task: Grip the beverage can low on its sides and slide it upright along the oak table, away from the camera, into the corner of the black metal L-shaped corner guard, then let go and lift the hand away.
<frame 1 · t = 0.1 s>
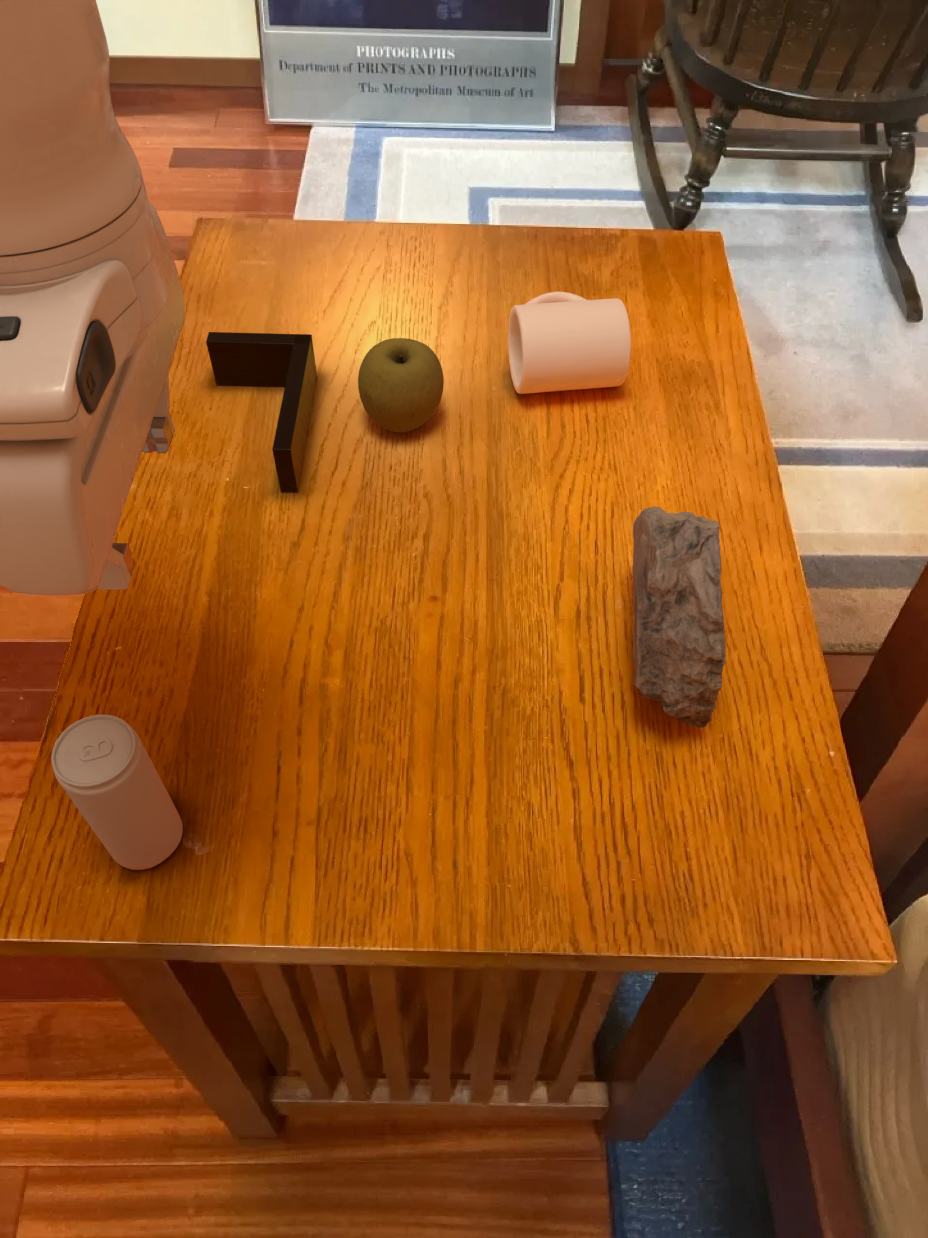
hand: (138, 507, 48), 23 cm above the table, tool pointing down, fingers open, 8 cm apart
beverage can: (148, 839, 61), on the table
apple: (402, 419, 87), on the table
corner guard: (300, 387, 89), on the table
decorative rock: (657, 653, 71), on the table
mug: (558, 369, 92), on the table
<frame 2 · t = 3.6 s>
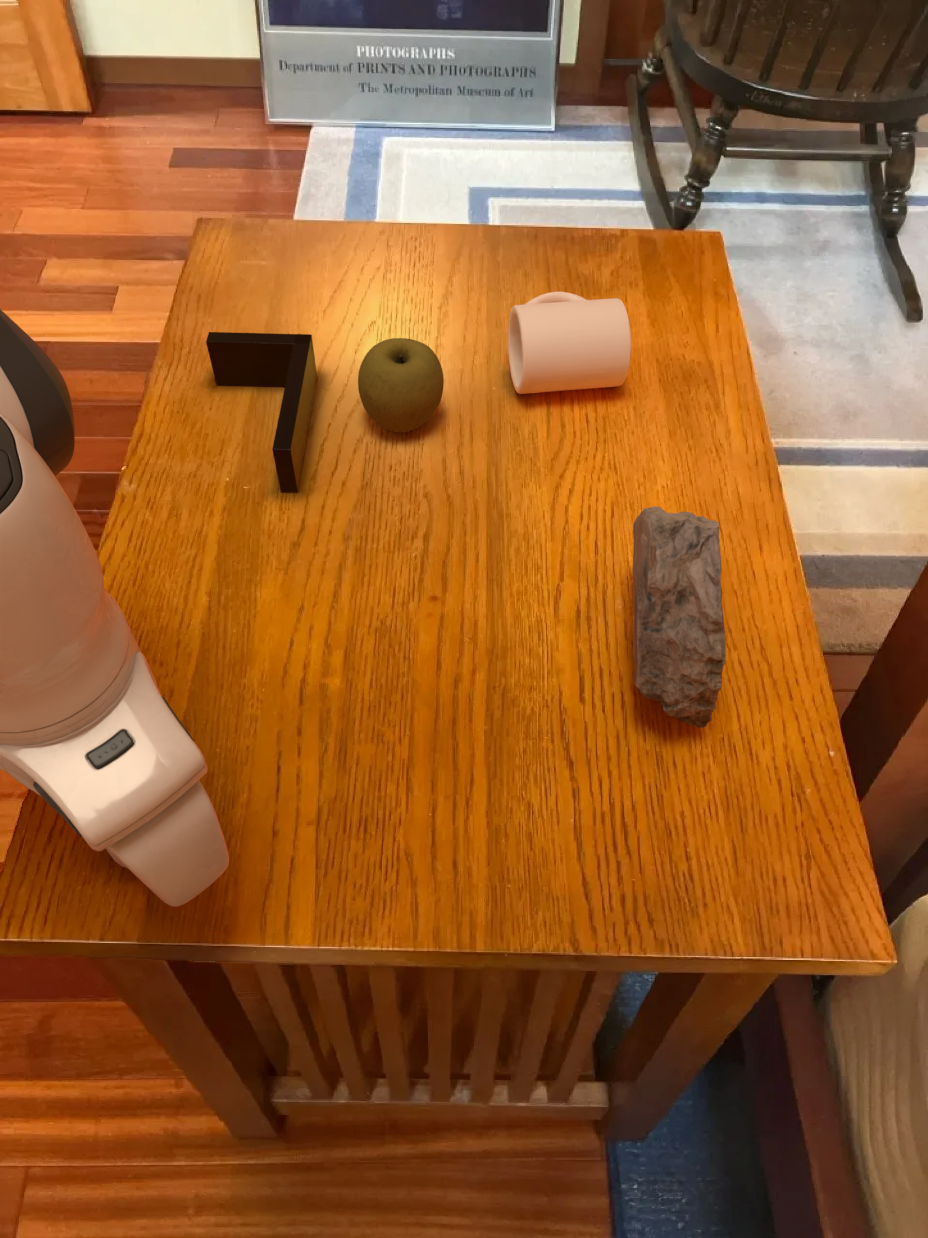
hand: (128, 807, 58), 5 cm above the table, tool pointing down, fingers closed on beverage can, 5 cm apart
beverage can: (148, 839, 61), on the table, touching gripper
everything else where it was.
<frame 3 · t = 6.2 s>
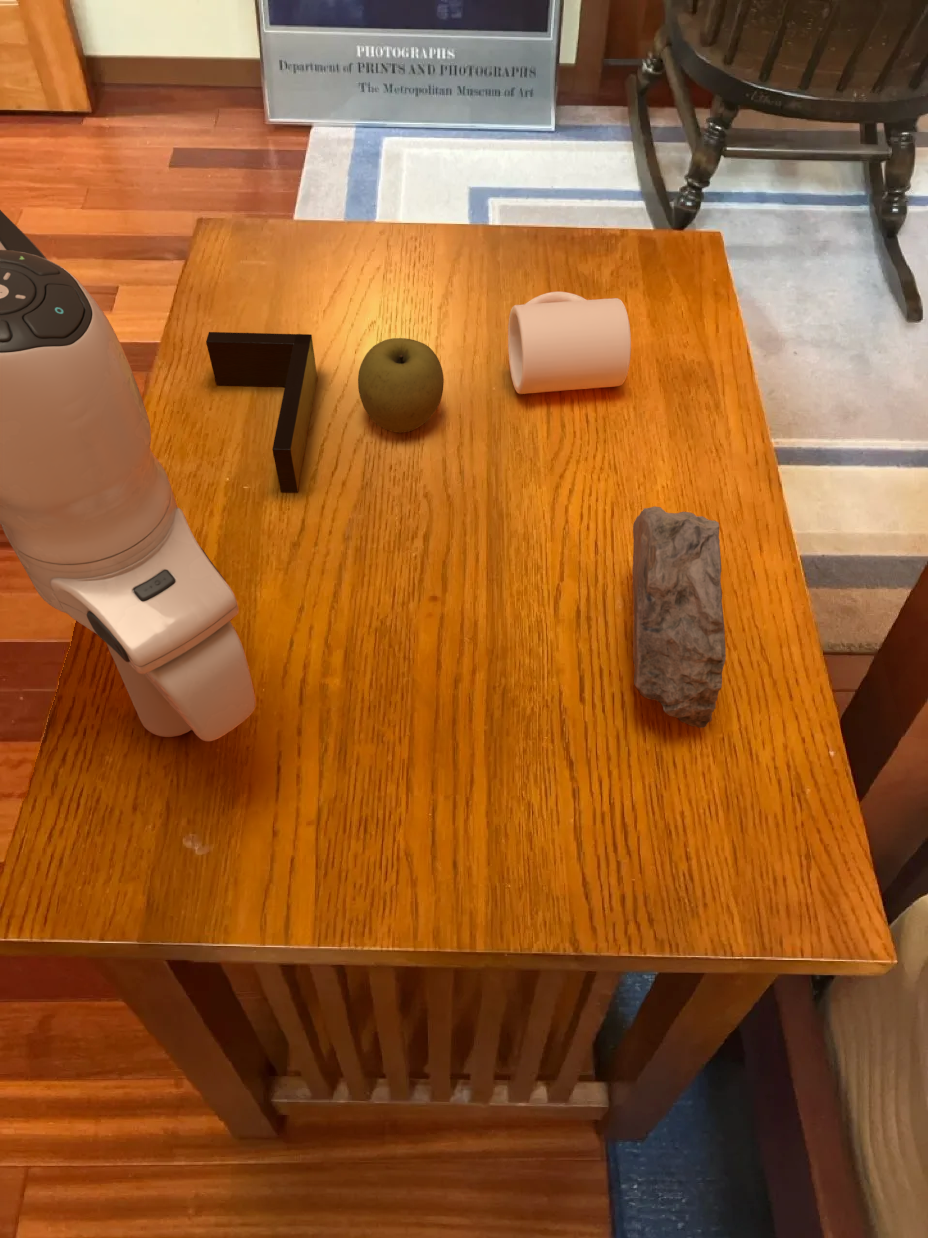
hand: (162, 675, 63), 5 cm above the table, tool pointing down, fingers closed on beverage can, 5 cm apart
beverage can: (176, 713, 67), on the table, touching gripper
everything else where it was.
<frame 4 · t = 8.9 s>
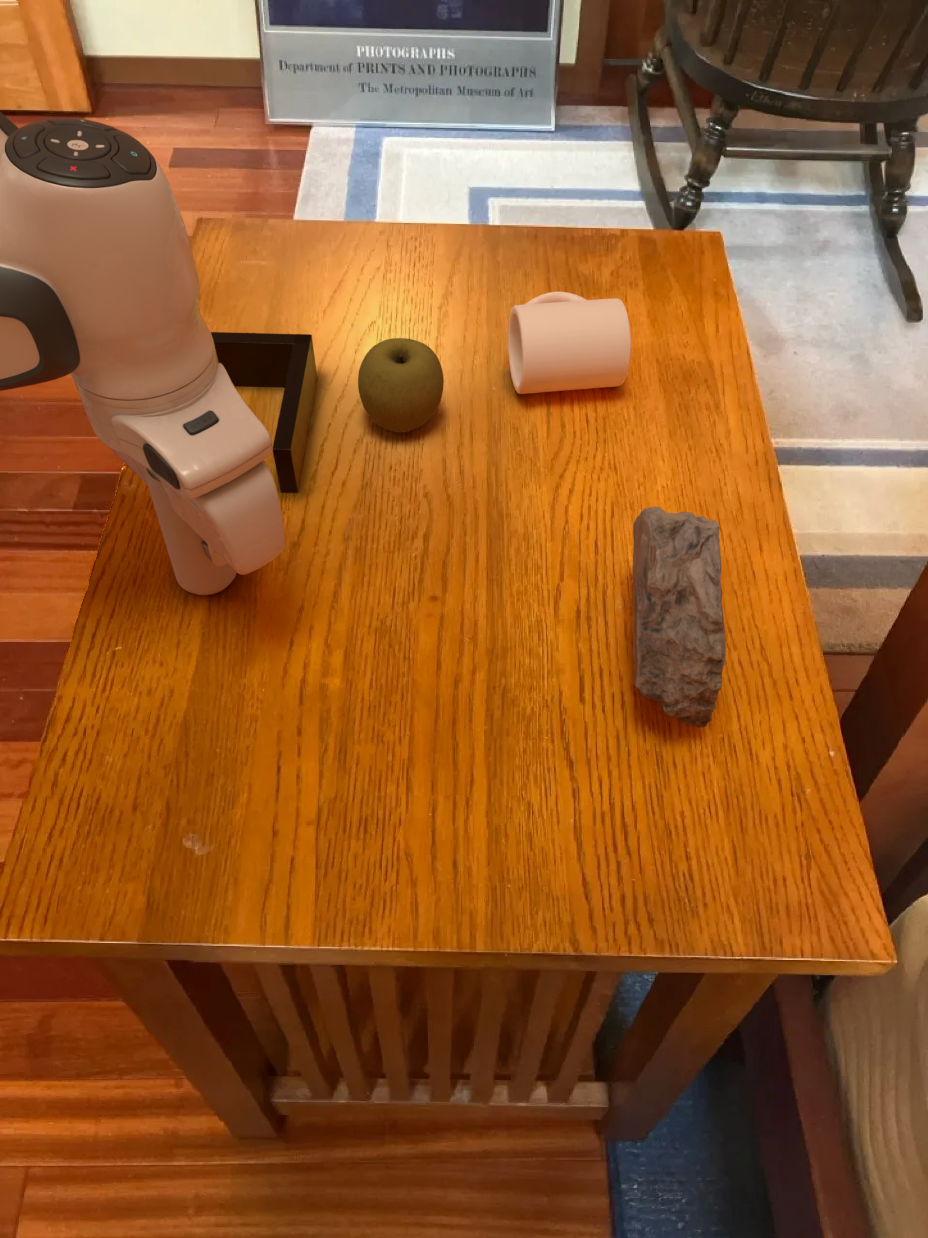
hand: (199, 535, 71), 5 cm above the table, tool pointing down, fingers closed on beverage can, 5 cm apart
beverage can: (208, 577, 75), on the table, touching gripper
everything else where it was.
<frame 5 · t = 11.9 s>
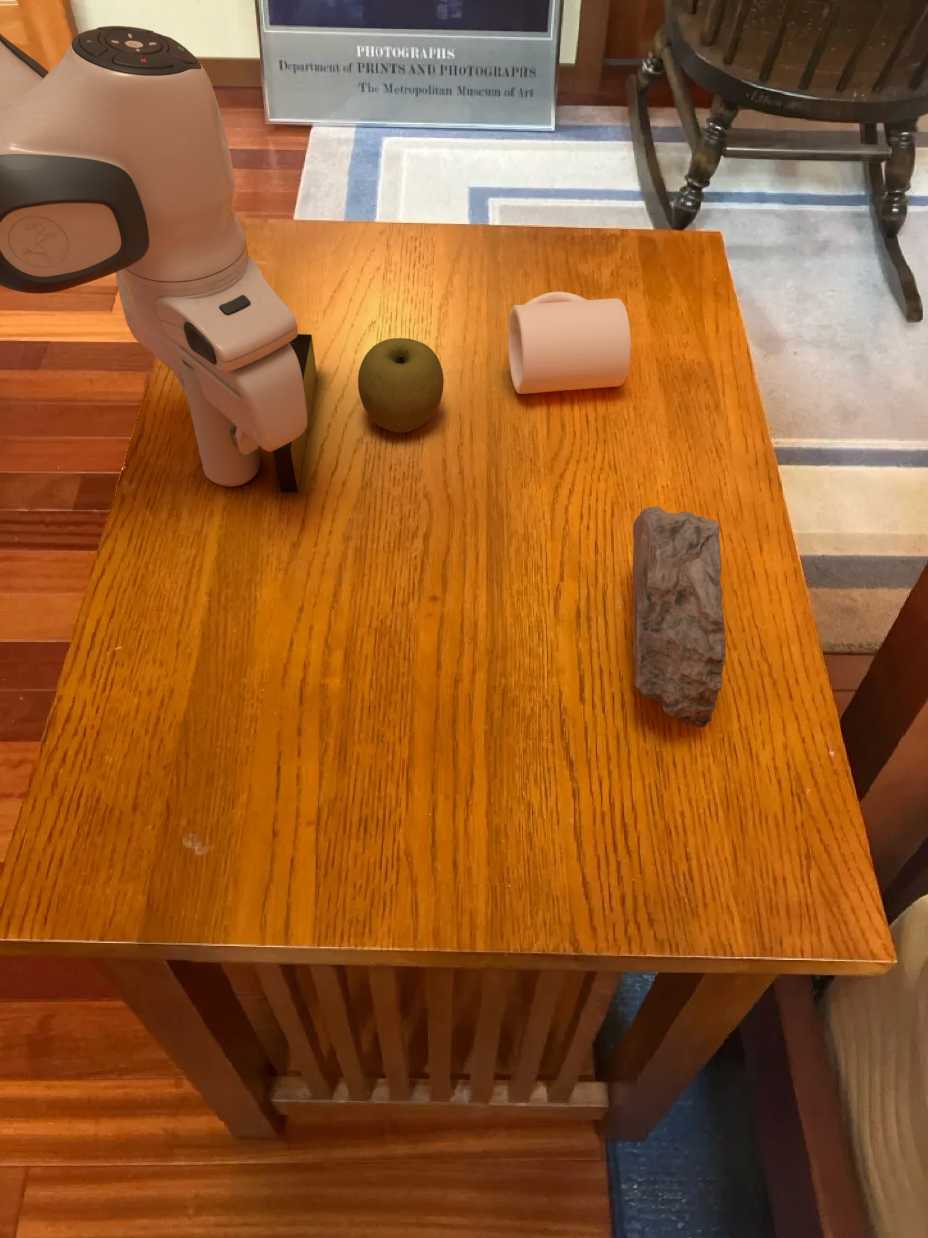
hand: (226, 429, 78), 5 cm above the table, tool pointing down, fingers closed on beverage can, 5 cm apart
beverage can: (232, 473, 82), on the table, touching gripper
everything else where it was.
when the fingers open (5 cm above the table, at t = 14.3 s): beverage can stays where it is, on the table.
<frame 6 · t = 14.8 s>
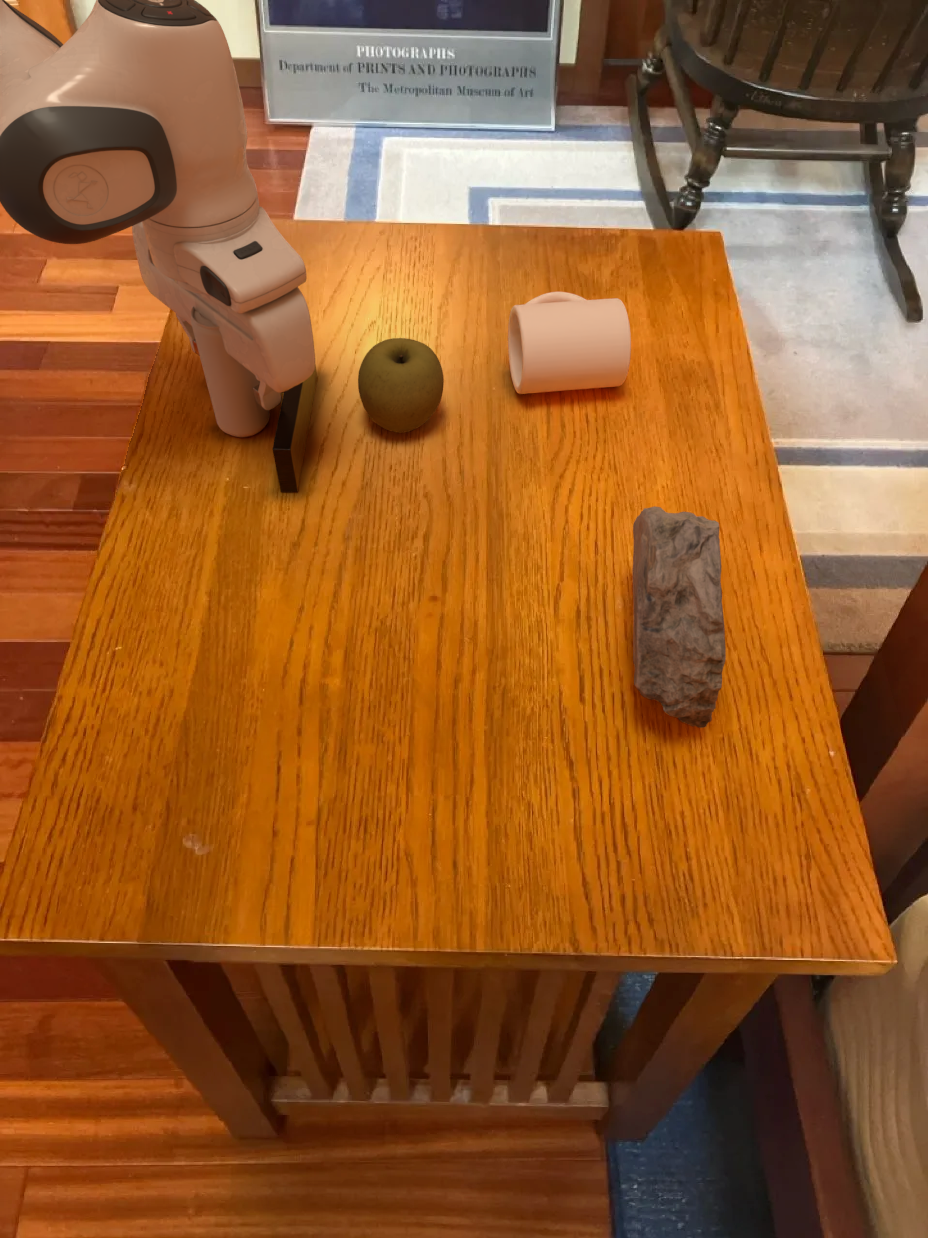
hand: (236, 377, 83), 5 cm above the table, tool pointing down, fingers open, 8 cm apart
beverage can: (244, 424, 86), on the table
everything else where it was.
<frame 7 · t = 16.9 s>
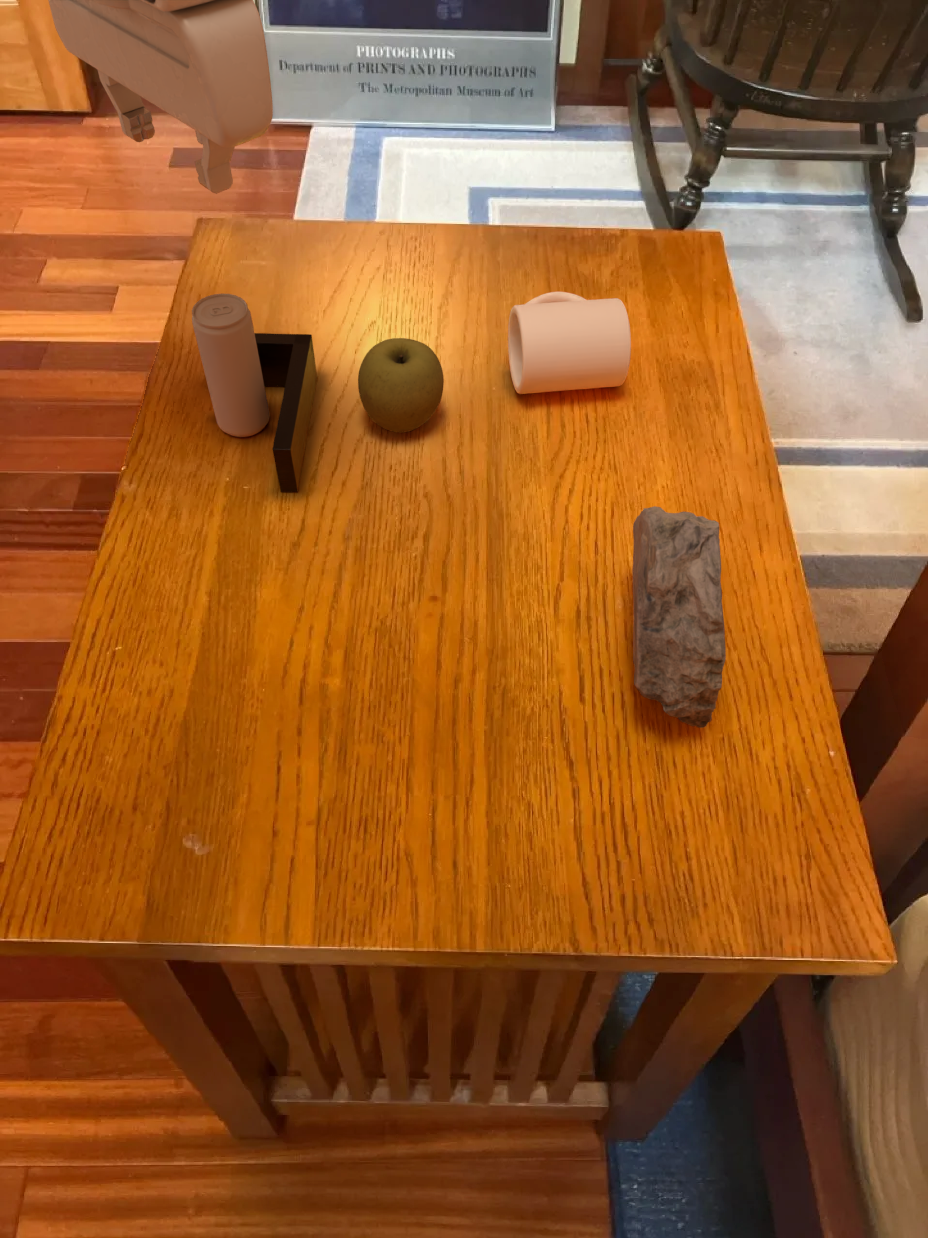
hand: (177, 161, 65), 25 cm above the table, tool pointing down, fingers open, 8 cm apart
nothing on the table moved.
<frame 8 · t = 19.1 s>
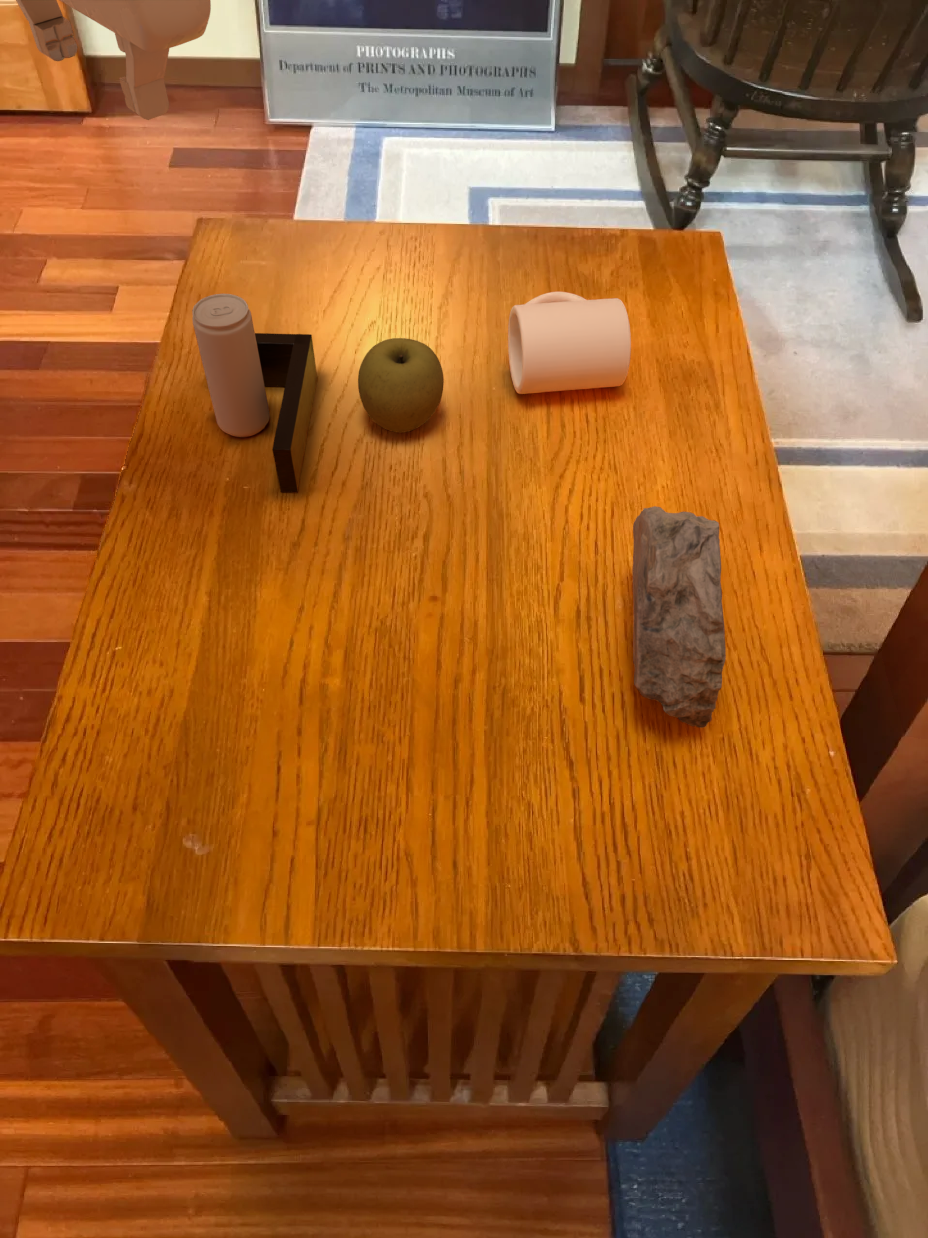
hand: (103, 82, 52), 34 cm above the table, tool pointing down, fingers open, 8 cm apart
nothing on the table moved.
at the end: beverage can 1.0 cm from the target spot on the corner guard, point 0.0 cm above the corner guard's base; beverage can tilted 0°; the gripper is holding nothing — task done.
